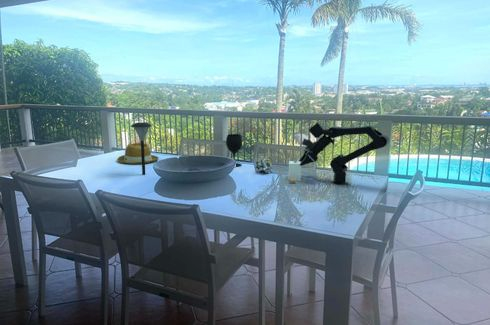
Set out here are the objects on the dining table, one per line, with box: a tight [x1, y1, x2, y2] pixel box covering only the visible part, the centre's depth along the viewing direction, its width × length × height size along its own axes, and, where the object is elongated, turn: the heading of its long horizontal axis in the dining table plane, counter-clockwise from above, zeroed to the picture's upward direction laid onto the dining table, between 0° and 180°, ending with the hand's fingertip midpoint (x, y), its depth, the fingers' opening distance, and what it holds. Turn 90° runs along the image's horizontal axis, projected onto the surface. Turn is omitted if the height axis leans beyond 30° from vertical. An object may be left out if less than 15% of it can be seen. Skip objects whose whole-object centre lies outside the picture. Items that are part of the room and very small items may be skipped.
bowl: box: [289, 178, 296, 184], centre depth 197 cm, size 4×4×3 cm
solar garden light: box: [130, 121, 153, 176], centre depth 210 cm, size 12×12×30 cm
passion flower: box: [255, 156, 273, 174], centre depth 221 cm, size 11×11×12 cm
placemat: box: [275, 175, 310, 188], centre depth 202 cm, size 22×14×1 cm, turn 161°
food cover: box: [287, 160, 302, 181], centre depth 205 cm, size 7×7×10 cm
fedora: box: [116, 142, 159, 165], centre depth 251 cm, size 27×29×12 cm
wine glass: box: [225, 133, 243, 168], centre depth 239 cm, size 10×10×20 cm
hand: (299, 163), depth 204 cm, fingers open, 9 cm apart
